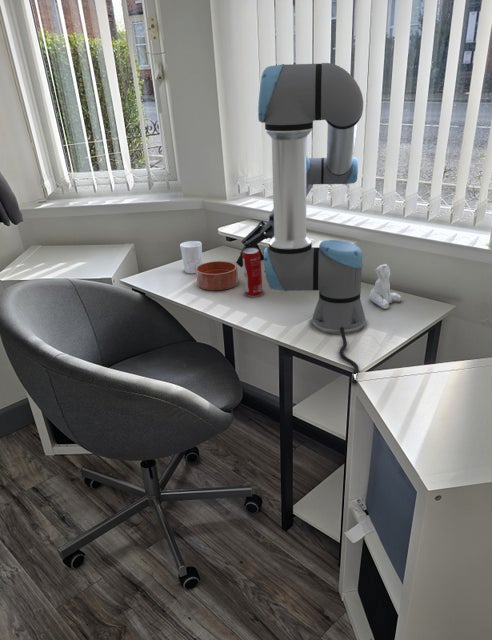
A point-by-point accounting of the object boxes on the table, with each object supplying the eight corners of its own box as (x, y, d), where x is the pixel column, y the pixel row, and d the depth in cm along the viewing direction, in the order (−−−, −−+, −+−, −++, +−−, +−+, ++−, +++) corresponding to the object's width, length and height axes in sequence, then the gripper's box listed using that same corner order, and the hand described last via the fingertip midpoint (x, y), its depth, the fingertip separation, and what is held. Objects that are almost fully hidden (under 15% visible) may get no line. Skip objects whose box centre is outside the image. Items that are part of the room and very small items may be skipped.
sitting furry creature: (385, 310, 164) (388, 272, 158) (362, 303, 169) (364, 266, 163) (402, 301, 170) (406, 263, 164) (379, 294, 175) (382, 258, 169)
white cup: (179, 273, 200) (176, 246, 194) (188, 266, 206) (185, 240, 201) (199, 274, 198) (196, 247, 192) (207, 268, 204) (204, 241, 199)
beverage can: (263, 290, 182) (261, 246, 174) (261, 298, 176) (259, 252, 168) (246, 290, 182) (243, 246, 174) (243, 298, 177) (240, 252, 169)
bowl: (232, 292, 182) (230, 275, 178) (192, 290, 184) (190, 273, 181) (242, 278, 193) (241, 261, 190) (204, 276, 196) (202, 260, 193)
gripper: (318, 225, 171) (286, 283, 170) (264, 213, 186) (234, 267, 186) (307, 211, 165) (273, 271, 164) (252, 200, 180) (221, 255, 180)
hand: (252, 269), depth 175 cm, fingers open, 13 cm apart
